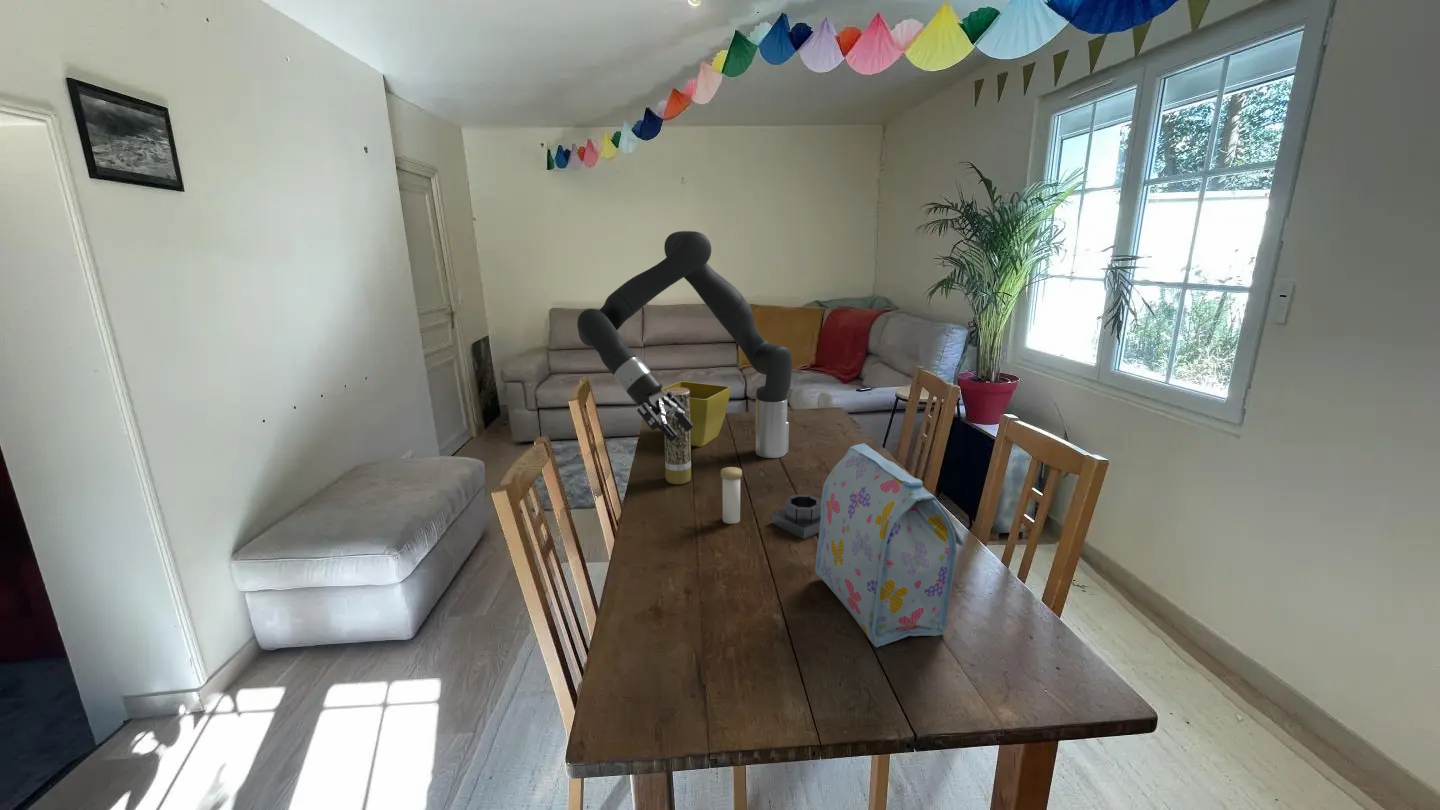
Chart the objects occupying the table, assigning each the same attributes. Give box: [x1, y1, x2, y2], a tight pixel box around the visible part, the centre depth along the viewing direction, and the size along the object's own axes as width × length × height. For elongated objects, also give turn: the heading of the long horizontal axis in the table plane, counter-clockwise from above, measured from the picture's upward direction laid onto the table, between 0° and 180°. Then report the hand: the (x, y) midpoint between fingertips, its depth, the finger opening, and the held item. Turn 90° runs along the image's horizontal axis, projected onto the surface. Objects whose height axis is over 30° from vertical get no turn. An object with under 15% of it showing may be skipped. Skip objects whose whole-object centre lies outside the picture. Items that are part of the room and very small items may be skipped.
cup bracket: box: [771, 494, 822, 540], centre depth 131 cm, size 10×10×6 cm
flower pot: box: [660, 380, 732, 447], centre depth 189 cm, size 19×19×17 cm
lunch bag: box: [814, 442, 965, 648], centre depth 99 cm, size 22×17×26 cm
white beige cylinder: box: [720, 466, 743, 525], centre depth 133 cm, size 5×5×12 cm
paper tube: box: [663, 387, 692, 485], centre depth 154 cm, size 7×7×25 cm
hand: (683, 434), depth 134 cm, fingers open, 8 cm apart
